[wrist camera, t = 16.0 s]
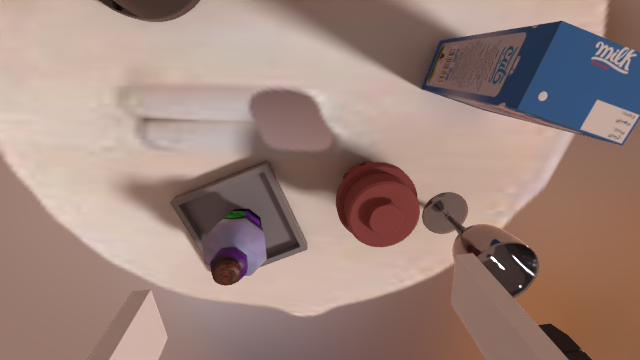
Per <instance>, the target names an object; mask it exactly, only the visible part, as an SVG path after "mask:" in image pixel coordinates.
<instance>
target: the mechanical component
mask: <svg viewBox="0 0 640 360" xmlns="http://www.w3.org/2000/svg"><path fill="white" fill-rule="evenodd" d="M336 207H337V212H338V215H339V218H340V220H341V222H342V224H343V225H344V226H345V228H346V229H347V230H348V231H350V232H351V233H352V234H353V235H354V236H355V237H356V238H357V239H358V240H359V241H361V242H362V243H364V244H366V245H369V246H374V247H387V246H391V245H394V244H397V243H399V242H400V241H402V240H404V239H405V238H406V237H408V236H409V235H410V234H411V232H412V231H413V230H414V228H415V226H416V225H417V222H418V219H419V214H420V207H419V203H418V200H417V192H416V188H415V186H414V184H413V182H412V180H411V179H410V178H409V177H408V176H407V175H406V174H405V173H404V172H403V171H402V170H401V169H399V168H398V167H396V166H394V165H391V164H388V163H380V162H376V163H374V162H363V163H360V164H357V165H355V166H354V167H352V168H351V169H350V170H349V171H348V172H347V173H345V174H344V176H343V181H342V183H341V185H340V187H339V189H338V192H337V196H336Z"/></svg>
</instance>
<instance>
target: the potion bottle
mask: <svg viewBox="0 0 640 360" xmlns="http://www.w3.org/2000/svg"><path fill="white" fill-rule="evenodd" d="M201 242H202V248H203V254H204V260H205V263H206V264H207V265H209V266H210V267H211V272H212V275H213V279H214V281H215V282H216V283H218V284H220V285H232V284H234V283H236V282H238V281H239V280H240V279H241V278H242V277H243V276H250V275H252V274H253V273H254V272H255V271H256V270H257V269H258V268H259V267H260V266H261V265H262V264H263V263H264V262H265V261H266V260H267V257H266V246H265V236H264V232H263V227H261V218H260V217H259V216H258V215H257V214H255V213H254V212H253V211H251V210H250V209H234V210H233V211H232V212H229V213H227V214H226V215H225V218H223V219H222V220H221V221H220V222H219V223H218V224H217V225H216V226H215V227H214V228H213V229H212V230H211V231H210V232H209V233H208V234H207V235H206V236H205V237H204V238H203V239H202V241H201Z"/></svg>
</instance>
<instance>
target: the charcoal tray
mask: <svg viewBox="0 0 640 360" xmlns="http://www.w3.org/2000/svg"><path fill="white" fill-rule="evenodd" d="M170 203H171V204H172V206H173V208H174V209H175V211H176V212H177V214H178V216H179V217H180V219H181V220H182V222H183V224H184V225H185V227H186V228H187V230H188V232H189V233H190V235H191V236H192V238H193V240H194V241H195V243H196V244H197V246H198V248H199V249H200V251H201V252H202V254H203V248H202V242H201V241H202V239H203V238H204V237H205V236H206V235H207V234H208V233H209V232H210V231H211V230H212V229H213V228H214V227H215V226H216V225H217V224H218V223H219V222H220V221H221V220H222V219H223V218H225V215H226V214H227V213H229V212H232V211H233V210H234V209H250V210H251V211H253V212H254V213H255V214H257V215H258V216H259V217H260V218H261V227H263V232H264V236H265V246H266V257H267V260H266V261H265V262H264V263H263V264H262V265H261V266H260V267H262V266H264V265H267V264H270V263H272V262H275V261H278V260H280V259H283V258H286V257H288V256H291V255H294V254H296V253H299V252H302V251H305V250H307V242H306V239H305V237H304V235H303V233H302V231H301V229H300V227H299V225H298V223H297V220H296V218H295V216H294V214H293V212H292V210H291V208H290V206H289V204H288V201H287V199H286V197H285V195H284V193H283V191H282V189H281V187H280V184H279V182H278V180H277V178H276V176H275V174H274V172H273V170H272V168H271V165H270V163H269V161H265V162H263V163H260V164H258V165H255V166H253V167H250V168H248V169H245V170H243V171H240V172H238V173H235V174H233V175H230V176H228V177H225V178H223V179H220V180H218V181H215V182H212V183H210V184H207V185H205V186H202V187H200V188H197V189H195V190H192V191H190V192H187V193H185V194H182V195H180V196H177V197H175V198H174V199H173V200H172V201H171V202H170ZM203 256H204V254H203Z"/></svg>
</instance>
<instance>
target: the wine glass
mask: <svg viewBox="0 0 640 360" xmlns="http://www.w3.org/2000/svg"><path fill="white" fill-rule="evenodd" d="M467 213H468V206H467V203H466V201H465V200H464V198H463V197H462V196H460V195H458V194H456V193H442V194H439V195H437V196H435V197H434V198H432V199H431V200H430V201H429V202H428V204H427V205H426V207H425V209H424V212H423V221H424V224H425V226H426V227H427V228H428V229H429V230H430V231H432V232H434V233H438V234H446V233H450V232H452V231H454V230H456V231H457V232H458V236H457V237H456V239H455V241H454V244H453V249H452V253H453V258H454V262H455V259H456V255H461V254H470V253H473V254H474V255H475V256H476V257H477V258H478V259H479V260H480V262H481V263H482V264H483V265H484V266H485V267H486V268H487V269H488V270H489V272H490V273H491V274H492V275H493V276H494V277H495V278H496V279H497V280H498V282H499V283H500V284H501V285H502V286H503V287H504V288H505V289H506V290H507V292H508V293H509V294H510V295H511V296H512V297H513V298H515V297H517V296H519V295H520V294H522V293H523V292H524V291H526V290H527V289H528V288H529V287H530V286H531V284H532V283H533V282H534V280H535V278H536V276H537V273H538V268H539V262H538V258H537V255H536V254H535V252H534V251H533V250H532V249H531V248H529V247H528V246H527V245H526V244H525V243H524V242H522V241H521V240H519V239H518V238H517V237H515V236H514V235H512V234H510V233H508V232H506V231H505V230H503V229H500V228H498V227H495V226H492V225H487V224H478V225H473V226H470V227H468V228H465V227H464V226H462V224H463V223H464V221H465V219H466V217H467Z"/></svg>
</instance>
